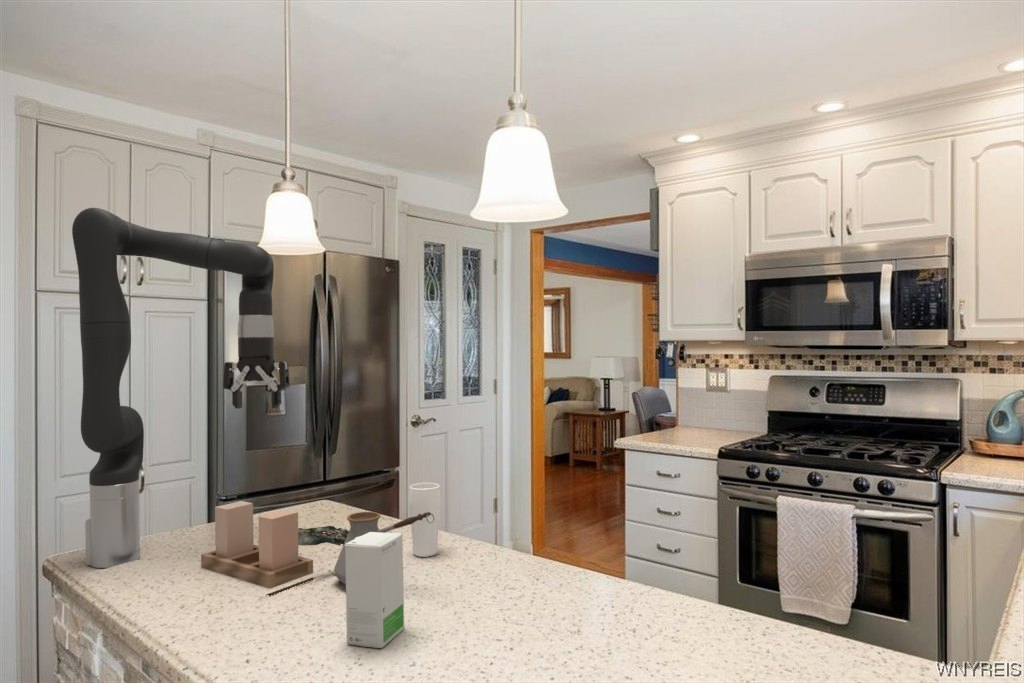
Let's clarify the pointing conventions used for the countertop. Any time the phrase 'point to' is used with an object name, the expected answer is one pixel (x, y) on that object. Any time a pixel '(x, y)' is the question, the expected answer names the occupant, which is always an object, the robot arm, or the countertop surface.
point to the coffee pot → (366, 524)
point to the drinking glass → (423, 532)
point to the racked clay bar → (234, 529)
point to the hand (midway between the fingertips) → (256, 408)
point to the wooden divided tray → (257, 569)
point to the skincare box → (374, 589)
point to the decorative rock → (322, 535)
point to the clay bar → (278, 540)
